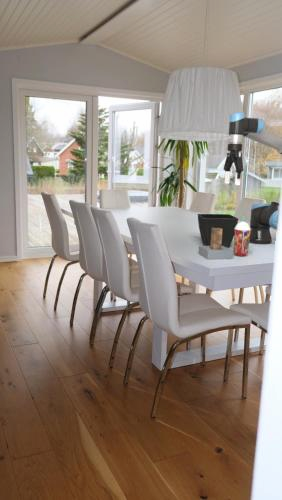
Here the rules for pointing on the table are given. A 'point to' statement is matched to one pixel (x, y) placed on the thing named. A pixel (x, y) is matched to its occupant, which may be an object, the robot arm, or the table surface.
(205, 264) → the table surface
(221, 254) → the socket block
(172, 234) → the table surface
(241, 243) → the smoothie
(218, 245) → the peg
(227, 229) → the flower pot
